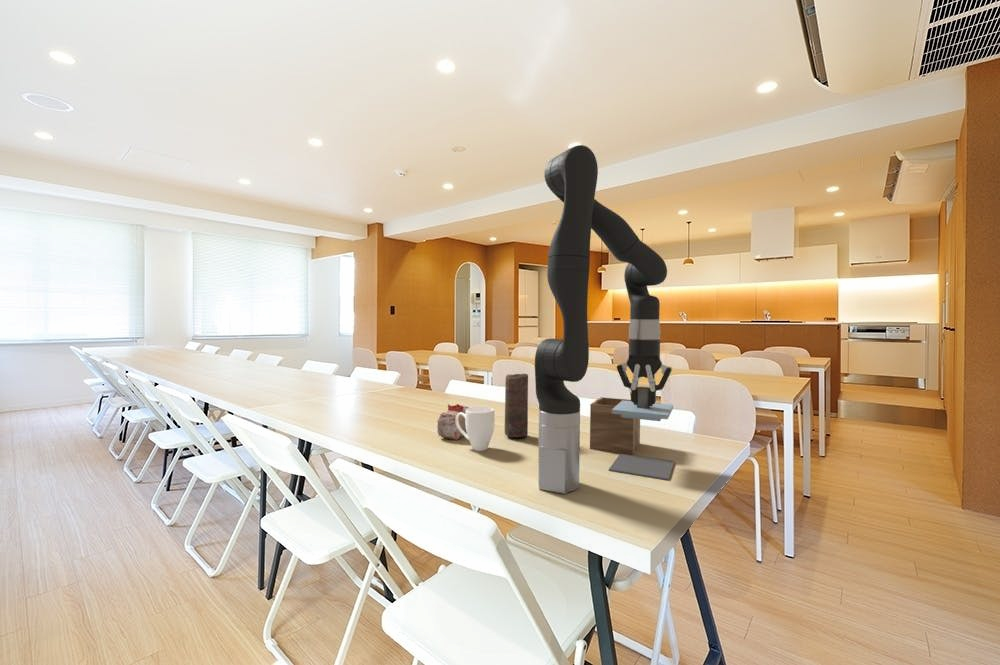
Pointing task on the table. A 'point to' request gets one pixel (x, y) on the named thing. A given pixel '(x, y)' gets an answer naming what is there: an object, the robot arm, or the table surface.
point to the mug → (478, 426)
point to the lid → (643, 408)
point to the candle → (516, 405)
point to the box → (612, 428)
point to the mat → (643, 466)
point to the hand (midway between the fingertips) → (643, 404)
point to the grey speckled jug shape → (451, 422)
